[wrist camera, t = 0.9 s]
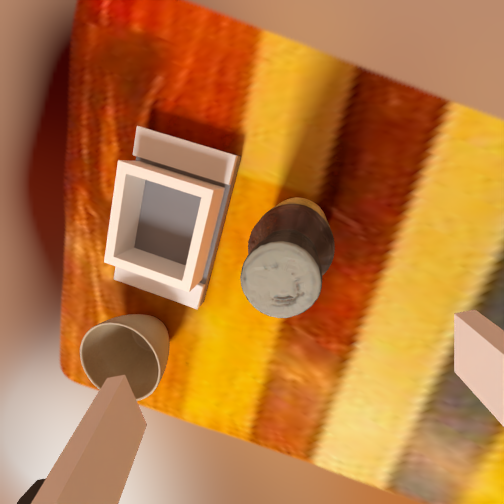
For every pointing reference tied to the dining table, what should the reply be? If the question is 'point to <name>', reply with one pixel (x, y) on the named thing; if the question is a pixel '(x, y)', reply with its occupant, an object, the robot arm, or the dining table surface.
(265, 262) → the sauce bottle
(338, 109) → the dining table surface
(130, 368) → the flower pot
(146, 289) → the caddy
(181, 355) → the dining table surface
